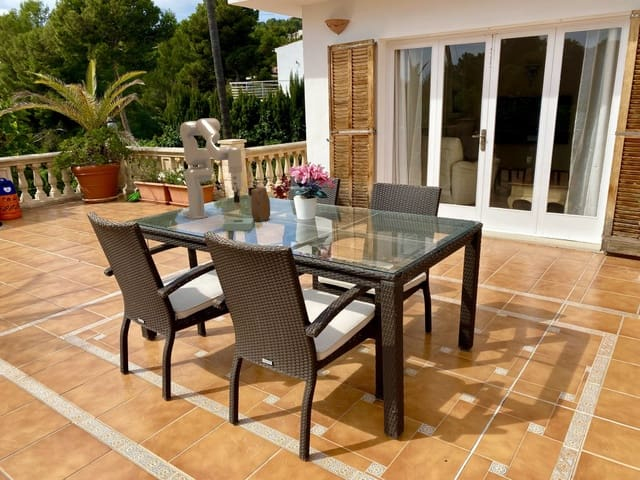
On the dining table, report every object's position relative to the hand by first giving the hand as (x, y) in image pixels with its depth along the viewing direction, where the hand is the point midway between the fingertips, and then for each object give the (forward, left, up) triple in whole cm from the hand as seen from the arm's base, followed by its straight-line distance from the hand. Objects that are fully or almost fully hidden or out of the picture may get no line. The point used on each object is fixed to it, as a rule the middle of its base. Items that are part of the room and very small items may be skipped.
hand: (237, 201), depth 282 cm
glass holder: (+8, +48, -16) cm, 51 cm away
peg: (0, 0, -3) cm, 3 cm away
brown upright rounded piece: (+12, +18, -16) cm, 27 cm away
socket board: (0, 0, -16) cm, 16 cm away
